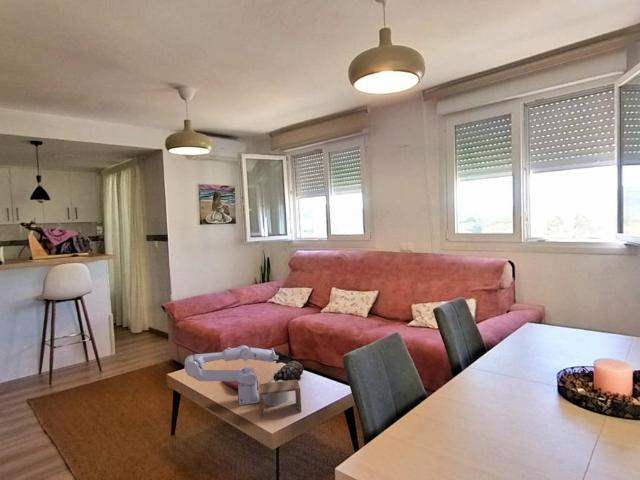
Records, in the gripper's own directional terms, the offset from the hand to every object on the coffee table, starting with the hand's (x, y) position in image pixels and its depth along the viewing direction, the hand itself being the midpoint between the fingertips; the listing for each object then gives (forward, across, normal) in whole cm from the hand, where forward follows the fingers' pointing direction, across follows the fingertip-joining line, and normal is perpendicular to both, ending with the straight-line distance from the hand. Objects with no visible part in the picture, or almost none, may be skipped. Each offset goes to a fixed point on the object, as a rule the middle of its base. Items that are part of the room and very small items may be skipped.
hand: (288, 358), depth 200 cm
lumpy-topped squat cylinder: (-2, 0, +20) cm, 20 cm away
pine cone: (+9, +18, +13) cm, 24 cm away
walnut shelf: (-3, -11, +23) cm, 26 cm away
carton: (-16, +26, +19) cm, 36 cm away
